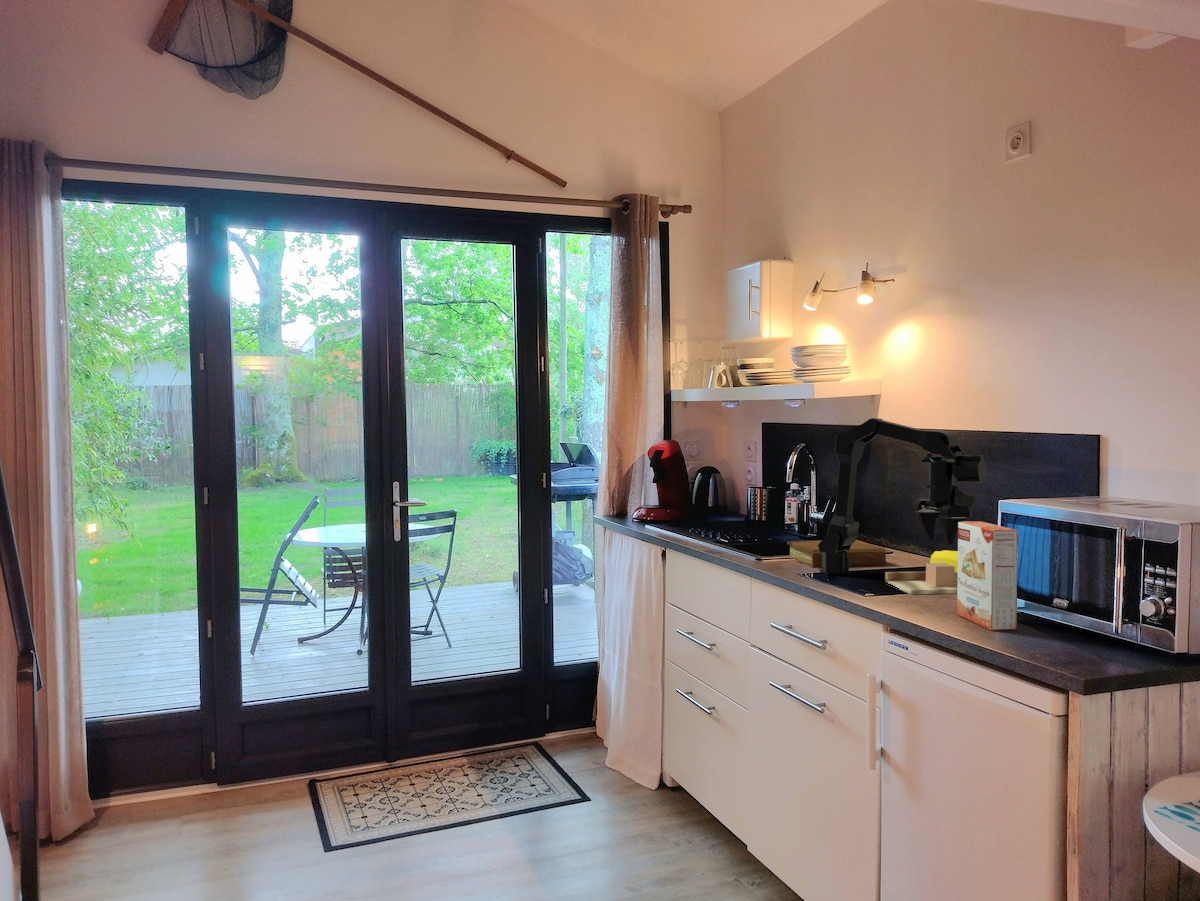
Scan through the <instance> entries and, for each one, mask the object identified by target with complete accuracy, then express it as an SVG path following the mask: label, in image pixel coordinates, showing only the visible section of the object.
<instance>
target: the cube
mask: <svg viewBox="0 0 1200 901" xmlns="http://www.w3.org/2000/svg"><path fill="white" fill-rule="evenodd" d="M925 571H926V583H928V584H931V585H934V586H954V580H955V566H952V565H949V564H946V563H930V562H929V563H928V562H926V563H925Z"/></svg>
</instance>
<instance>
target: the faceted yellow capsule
mask: <svg viewBox="0 0 1200 901" xmlns="http://www.w3.org/2000/svg"><path fill="white" fill-rule="evenodd" d="M929 563H946V564H949V565H952V566H955V573H958V550H948V549H946V550H941V551H940V550H939V551H938V550H935V551H934V552H933V553H932V554H931V556H930V560H929Z"/></svg>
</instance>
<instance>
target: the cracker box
mask: <svg viewBox="0 0 1200 901" xmlns="http://www.w3.org/2000/svg"><path fill="white" fill-rule="evenodd" d="M957 551H958V583H957V593H956V594H957V596H956V598H957V599H956V600H957V601H956V603H957V604H956V615H957V616H959V617H962V618H964V619H966V620H968V621H970V622H972V623H974V624H976V625H978V626H981V627H982V628H985V629H987V630H989V631H994V632H995V631H998V632H999V631H1016V630H1017V626H1018V625H1017V623H1018V622H1017V620H1018V618H1017V615H1018V614H1017V613H1018V612H1017V611H1018V608H1017V566H1018V554H1019V552H1018V551H1019V530H1018V529H1015V528H1010V527H1006V526H1001V525H997V524H993V523H989V522H985V521H982V520H981V521H980V520H979V521H978V520H977V521H973V520H971V521H970V520H965V521H962V522H958V530H957Z"/></svg>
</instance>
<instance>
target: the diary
mask: <svg viewBox="0 0 1200 901" xmlns="http://www.w3.org/2000/svg"><path fill="white" fill-rule="evenodd" d="M822 540H823V539H822ZM822 540H820V539H819V540H794V541H793V540H788V541H787V540H786V544H787V545H789V555H787V556H788V557H793V559H795V560H797V561H799V562H801V563H800V564H802V563H803V565H804V564H806V565H805V566H807V565H808V567H809V566H810V568H812V567H820V568H822V552H820V550H819V547H818V544H819V543H820V542H821V541H822ZM847 552H848V557H849V568H850V567H880V566H884V567H885V566H886V565H887V564H886V562H887V561H886V560H887V559H886V558H887V551H886V549H885V548H884V547H882V546H878V545H875V544H871V543H868V542H866V541H862V540H858V539H856V541H855V542H854V543H853V544H852V545H851V548H850V550H847ZM797 561H796V562H797ZM799 562H798V563H799Z"/></svg>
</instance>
